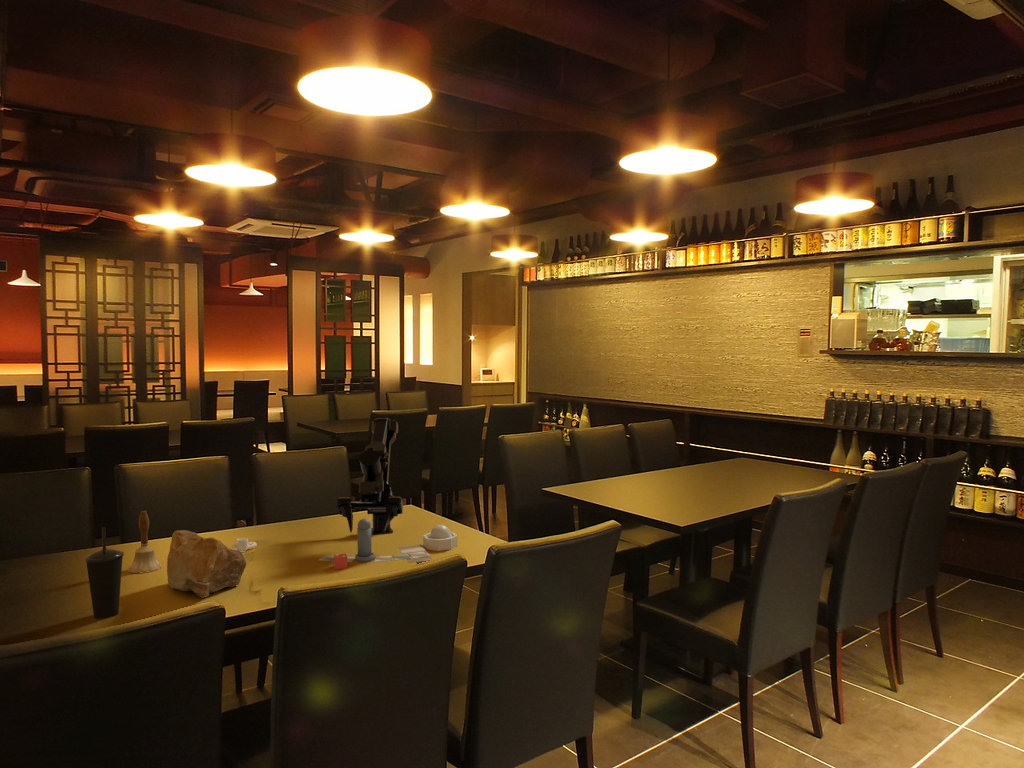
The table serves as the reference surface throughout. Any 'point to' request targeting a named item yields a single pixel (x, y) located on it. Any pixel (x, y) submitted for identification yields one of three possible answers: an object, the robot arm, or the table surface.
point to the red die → (340, 561)
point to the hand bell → (144, 550)
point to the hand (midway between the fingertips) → (367, 531)
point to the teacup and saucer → (244, 544)
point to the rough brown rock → (202, 564)
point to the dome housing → (440, 542)
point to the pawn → (364, 542)
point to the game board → (409, 552)
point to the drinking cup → (105, 579)
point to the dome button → (440, 532)
